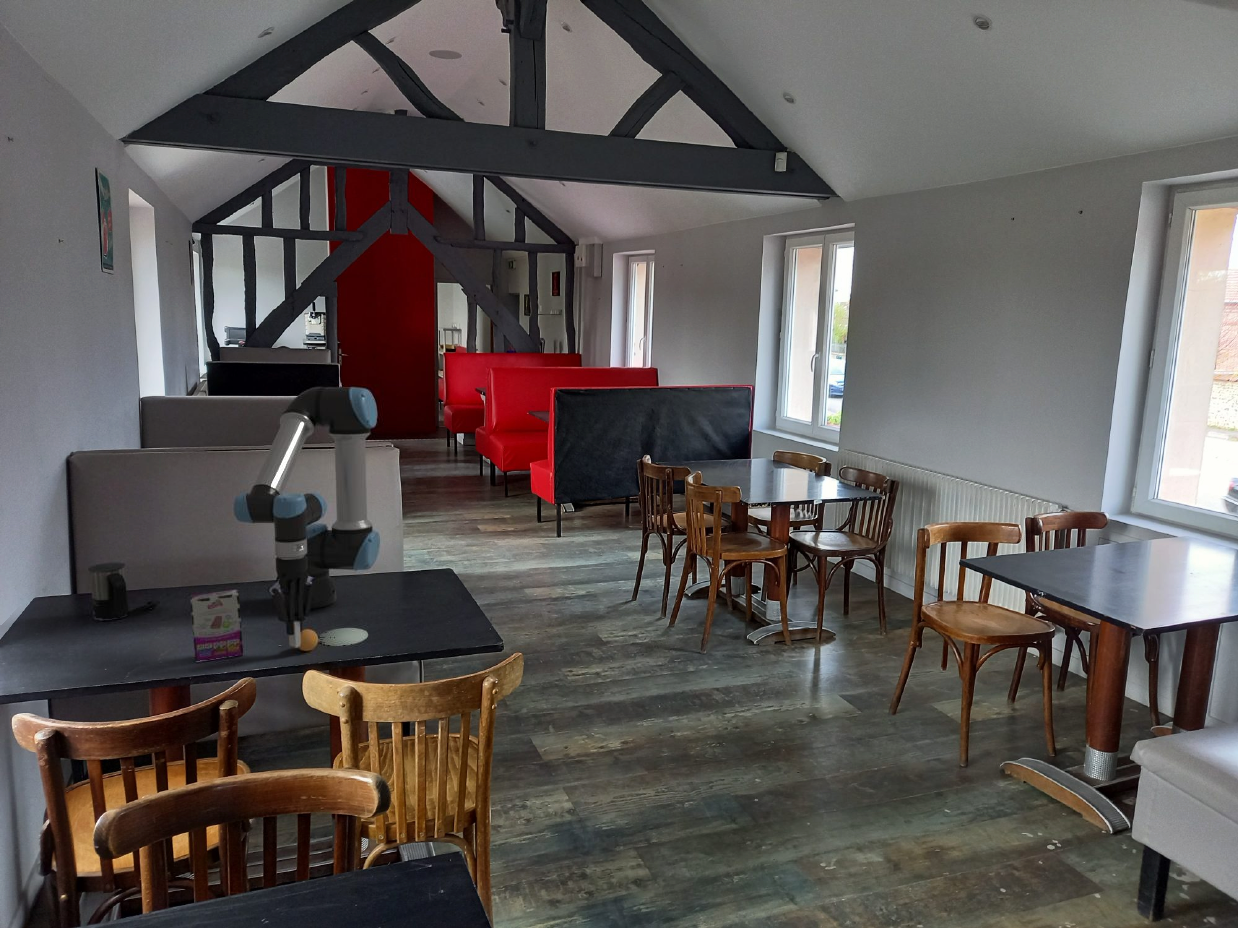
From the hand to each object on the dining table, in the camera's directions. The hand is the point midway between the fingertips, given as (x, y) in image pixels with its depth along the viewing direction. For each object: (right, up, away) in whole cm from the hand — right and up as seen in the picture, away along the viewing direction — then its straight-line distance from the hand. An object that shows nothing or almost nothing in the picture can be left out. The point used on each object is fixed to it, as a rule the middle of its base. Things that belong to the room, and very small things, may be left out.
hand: (295, 645), depth 222 cm
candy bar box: (-19, -3, -2) cm, 19 cm away
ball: (+2, +1, +3) cm, 3 cm away
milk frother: (-58, +3, +28) cm, 65 cm away
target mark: (+8, 0, +12) cm, 15 cm away
